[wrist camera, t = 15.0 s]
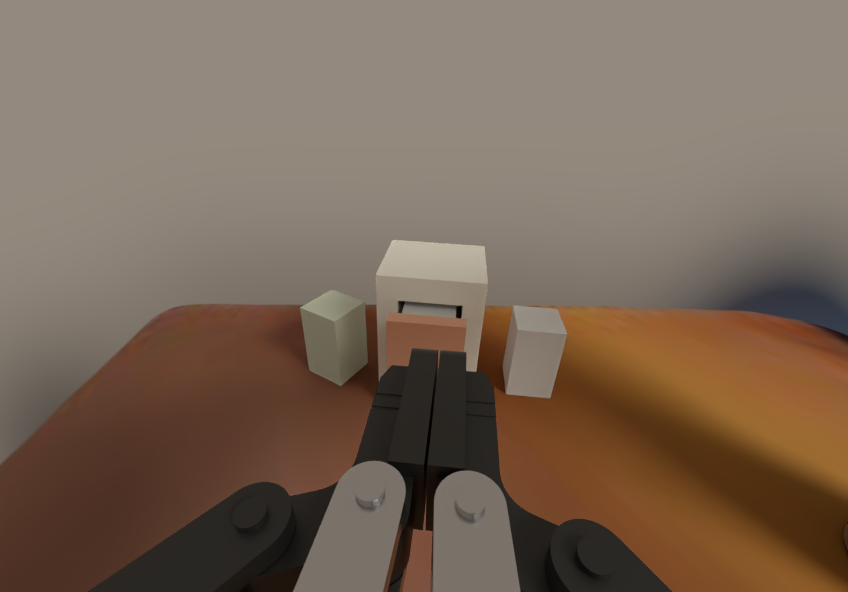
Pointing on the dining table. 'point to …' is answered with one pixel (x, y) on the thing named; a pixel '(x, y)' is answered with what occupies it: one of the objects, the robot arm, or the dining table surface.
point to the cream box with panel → (433, 287)
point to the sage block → (335, 336)
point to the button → (423, 331)
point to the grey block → (533, 351)
